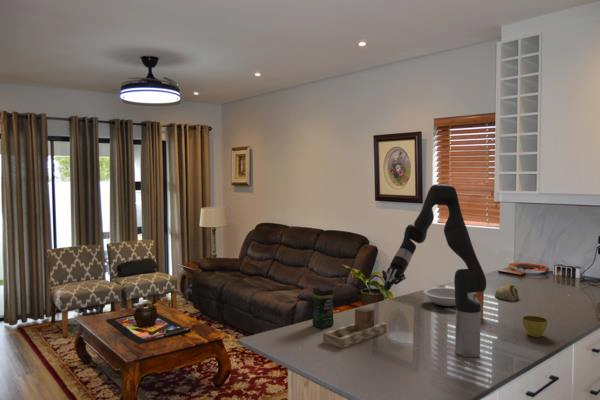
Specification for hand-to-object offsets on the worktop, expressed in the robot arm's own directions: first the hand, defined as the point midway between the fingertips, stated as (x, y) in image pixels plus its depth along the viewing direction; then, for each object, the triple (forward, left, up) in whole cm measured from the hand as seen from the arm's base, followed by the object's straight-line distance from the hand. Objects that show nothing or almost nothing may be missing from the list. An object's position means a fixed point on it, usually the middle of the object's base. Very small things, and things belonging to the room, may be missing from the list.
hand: (385, 289), depth 218 cm
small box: (+15, -45, -17) cm, 51 cm away
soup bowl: (+37, -38, -17) cm, 56 cm away
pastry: (+52, -76, -17) cm, 94 cm away
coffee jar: (0, +29, -17) cm, 34 cm away
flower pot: (-11, -63, -17) cm, 66 cm away
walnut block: (-11, +11, -16) cm, 22 cm away
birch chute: (-15, +15, -17) cm, 27 cm away
